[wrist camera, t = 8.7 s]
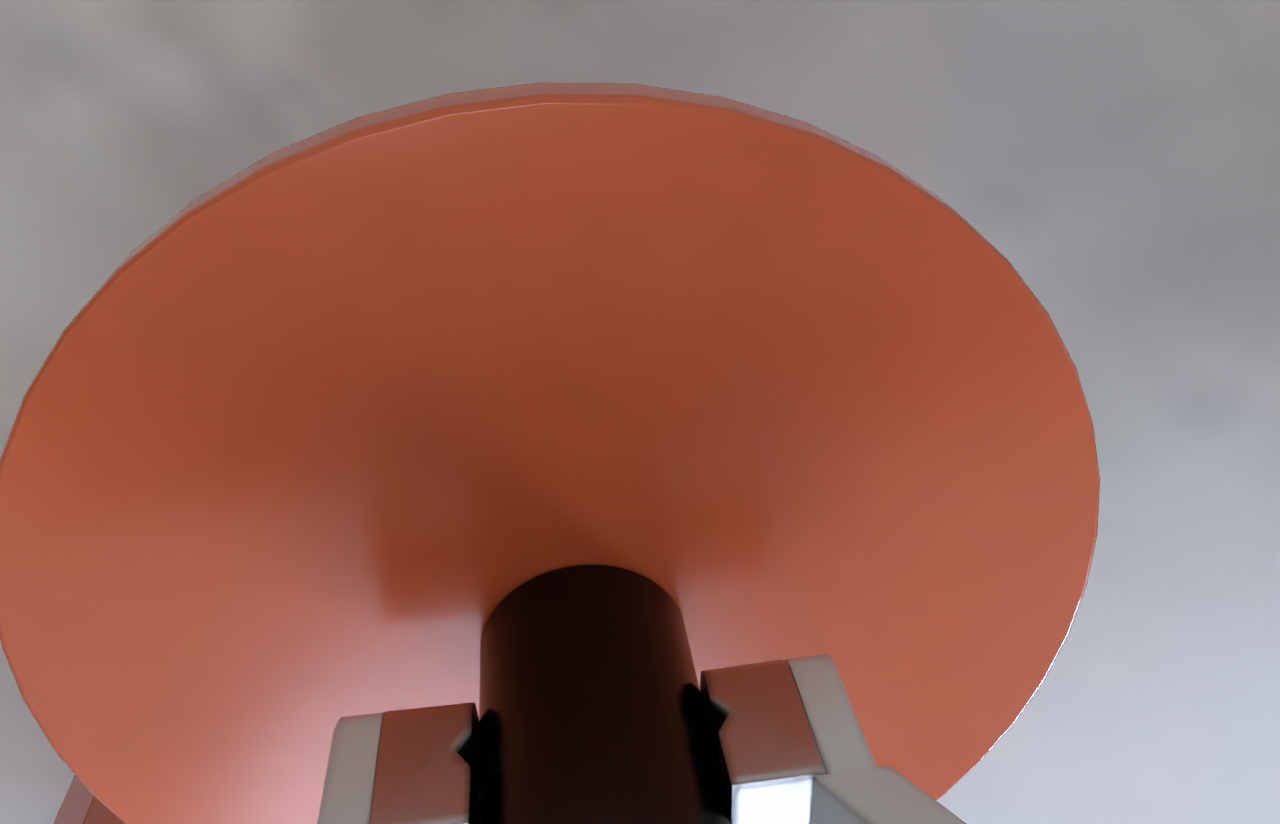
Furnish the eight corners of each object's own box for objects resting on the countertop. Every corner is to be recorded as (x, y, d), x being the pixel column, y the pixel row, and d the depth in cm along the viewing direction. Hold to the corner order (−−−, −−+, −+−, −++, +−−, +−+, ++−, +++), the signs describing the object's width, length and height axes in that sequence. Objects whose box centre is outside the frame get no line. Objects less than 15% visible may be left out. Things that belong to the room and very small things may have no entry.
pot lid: (-255, 405, 11) (-823, 852, 6) (915, -185, 9) (1343, -187, 5) (402, 970, 18) (371, 1372, 13) (1121, 692, 16) (1368, 1036, 12)
